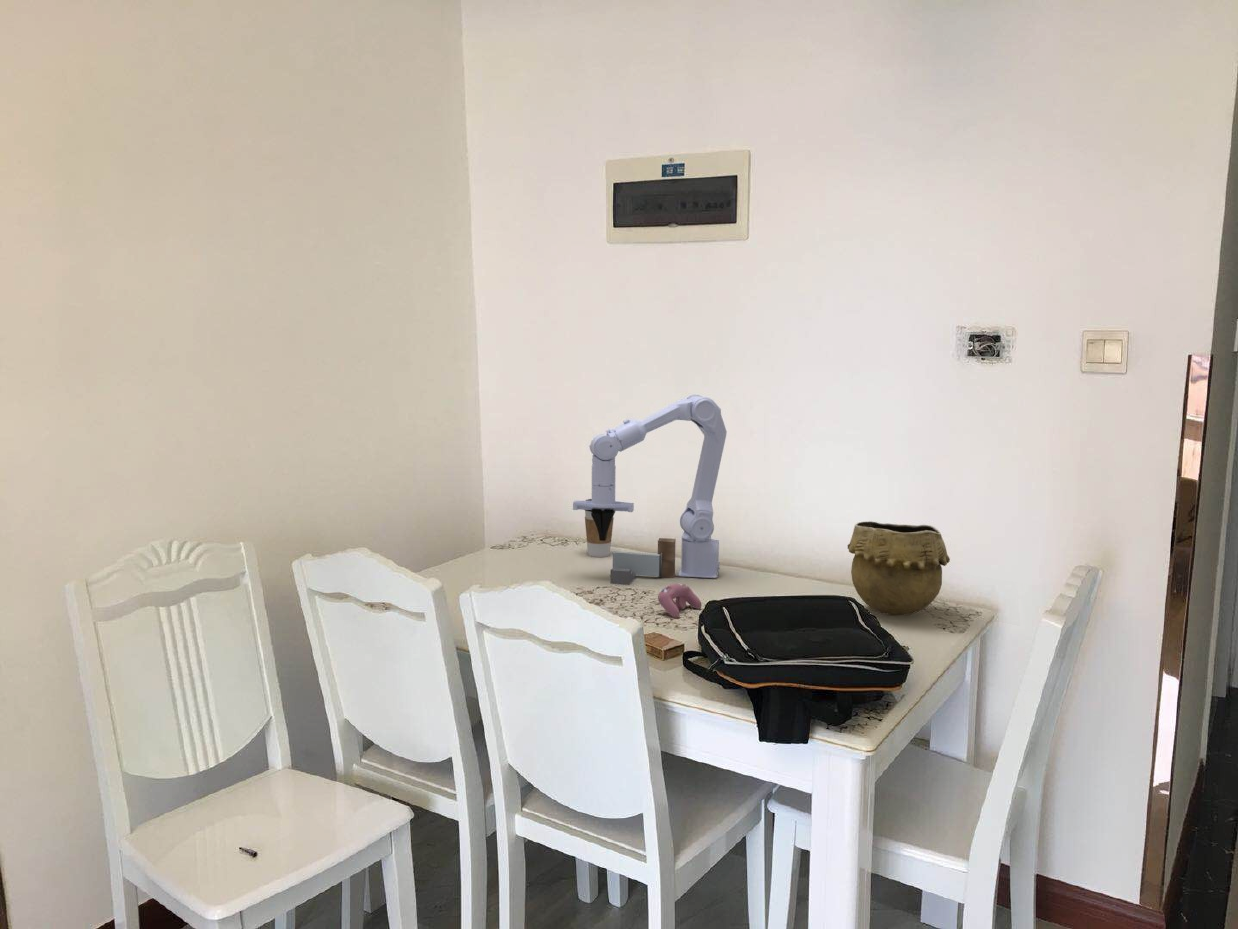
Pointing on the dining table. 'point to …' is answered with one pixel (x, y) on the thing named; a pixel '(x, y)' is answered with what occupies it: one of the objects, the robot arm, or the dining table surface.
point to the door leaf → (638, 562)
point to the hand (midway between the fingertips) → (603, 539)
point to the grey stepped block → (621, 576)
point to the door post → (667, 557)
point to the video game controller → (677, 598)
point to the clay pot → (897, 566)
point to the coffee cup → (596, 537)
